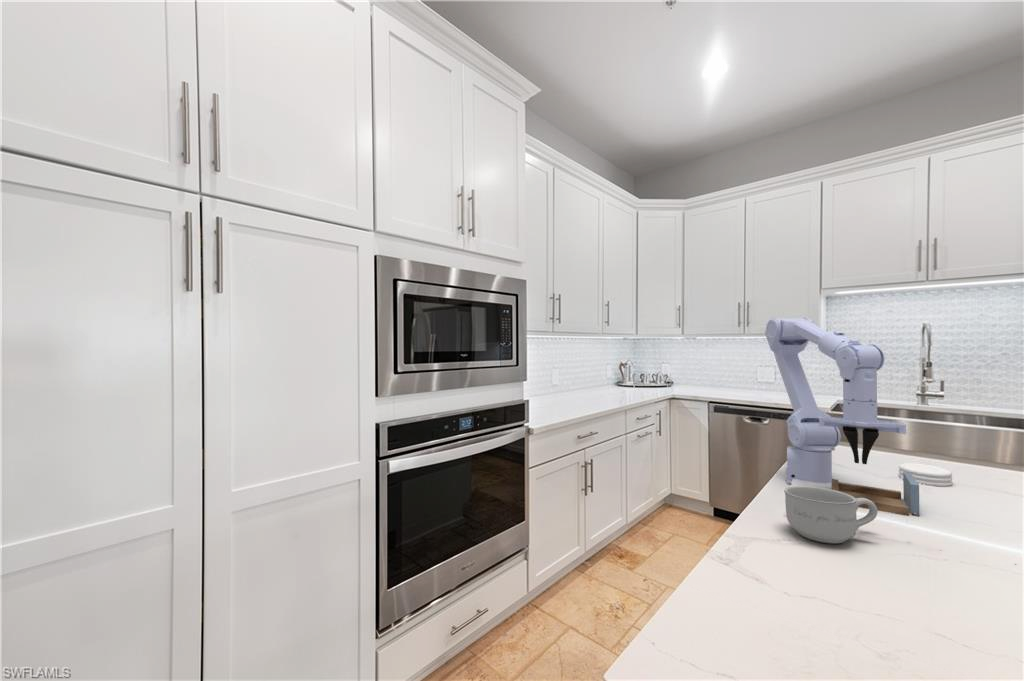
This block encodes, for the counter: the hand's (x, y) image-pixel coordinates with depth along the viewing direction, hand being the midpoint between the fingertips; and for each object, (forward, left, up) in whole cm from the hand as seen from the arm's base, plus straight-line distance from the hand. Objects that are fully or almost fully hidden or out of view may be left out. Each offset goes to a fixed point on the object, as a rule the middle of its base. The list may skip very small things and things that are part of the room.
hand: (860, 462), depth 92 cm
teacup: (-5, -23, -10) cm, 26 cm away
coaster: (+15, +33, -10) cm, 37 cm away
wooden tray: (+1, 0, -9) cm, 9 cm away
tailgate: (+8, 0, -8) cm, 11 cm away
